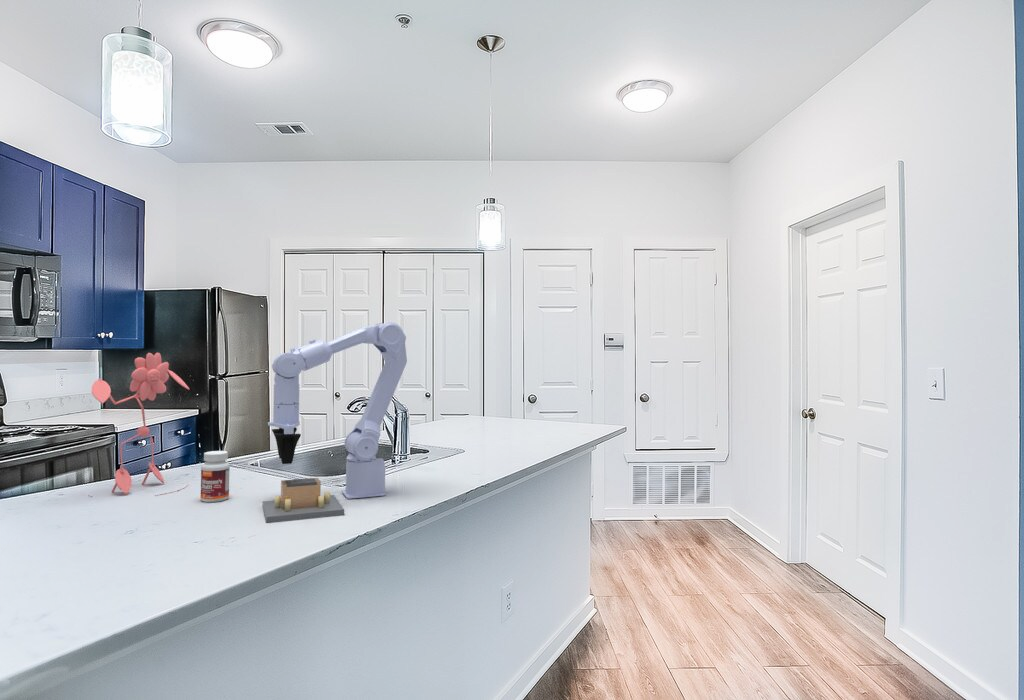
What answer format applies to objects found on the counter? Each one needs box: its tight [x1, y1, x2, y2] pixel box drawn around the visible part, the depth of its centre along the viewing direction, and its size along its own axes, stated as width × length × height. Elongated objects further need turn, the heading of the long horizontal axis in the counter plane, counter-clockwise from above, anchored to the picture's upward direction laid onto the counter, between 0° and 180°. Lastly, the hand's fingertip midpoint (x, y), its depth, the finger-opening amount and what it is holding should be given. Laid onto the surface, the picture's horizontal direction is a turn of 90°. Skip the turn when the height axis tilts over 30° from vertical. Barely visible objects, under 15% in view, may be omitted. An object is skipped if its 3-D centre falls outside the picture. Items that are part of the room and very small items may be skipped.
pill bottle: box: [200, 450, 231, 503], centre depth 144 cm, size 6×6×11 cm
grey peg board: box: [262, 491, 345, 524], centre depth 135 cm, size 16×14×4 cm
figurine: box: [88, 352, 190, 498], centre depth 152 cm, size 15×26×35 cm, turn 167°
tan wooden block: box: [280, 477, 322, 510], centre depth 135 cm, size 8×5×6 cm, turn 116°
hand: (285, 460), depth 142 cm, fingers open, 7 cm apart
